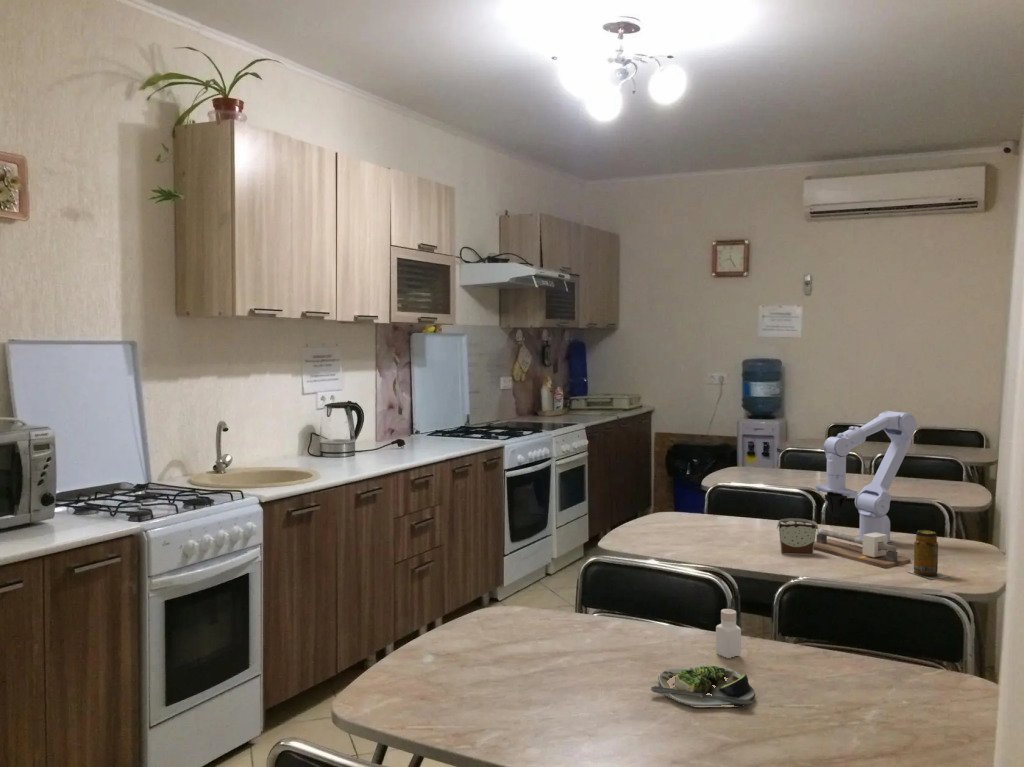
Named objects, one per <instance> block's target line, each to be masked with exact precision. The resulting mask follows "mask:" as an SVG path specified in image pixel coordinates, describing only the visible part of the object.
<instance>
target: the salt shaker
mask: <svg viewBox="0 0 1024 767" xmlns="http://www.w3.org/2000/svg"><path fill="white" fill-rule="evenodd" d="M720 621H721V622H720V623H719V624H717V625H716V626H715V653H716V654H717V653H718V654H717V655H719V654H720V655H719V656H721V655H722V656H721V657H723V656H724V657H723V658H725V657H727V658H730V657H734V656H738V657H740V656H741V655H742V628H741V627H740V626H738V625H737V611H736V610H734V609H731V608H722V609H721V610H720ZM739 655H740V656H739ZM727 658H726V659H727ZM734 658H735V657H734ZM730 659H731V658H730Z"/></svg>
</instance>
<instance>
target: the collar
mask: <svg viewBox="0 0 1024 767" xmlns="http://www.w3.org/2000/svg"><path fill="white" fill-rule="evenodd" d="M878 542H879V543H883V544H887V545H888V542H887V535H886V534H881V533H877V532H874V533H869V534H864V535H863V545H862V547H863V555H867V556H871V557H878V556H883V555H886V550H882V549H878Z"/></svg>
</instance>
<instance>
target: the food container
mask: <svg viewBox="0 0 1024 767" xmlns="http://www.w3.org/2000/svg"><path fill="white" fill-rule="evenodd" d="M776 529H778V532H779V533H778V534H779V542H780V554H781V555H799V556H800V555H806V556H808V555H810V556H813V555H814V551H815V550H814V542H815V541H816V540H815V539H816V535H817V534H816V533H817V530H818V529H819V527H818V523H817V522H816V521H813V520H809V519H805V518H782V519H779V520H778V522H777V524H776Z"/></svg>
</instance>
